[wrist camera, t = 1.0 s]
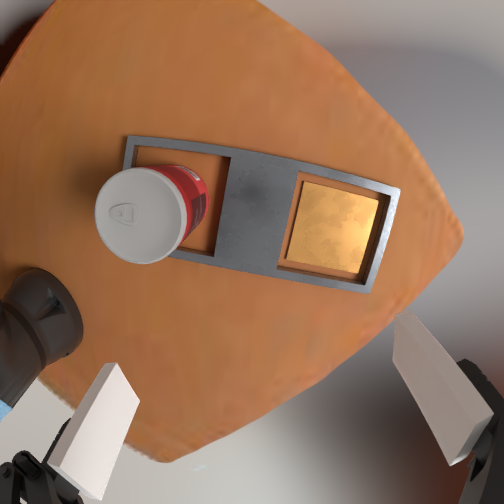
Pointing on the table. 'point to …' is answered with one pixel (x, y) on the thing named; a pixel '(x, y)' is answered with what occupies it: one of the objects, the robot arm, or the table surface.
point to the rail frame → (276, 215)
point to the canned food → (149, 211)
